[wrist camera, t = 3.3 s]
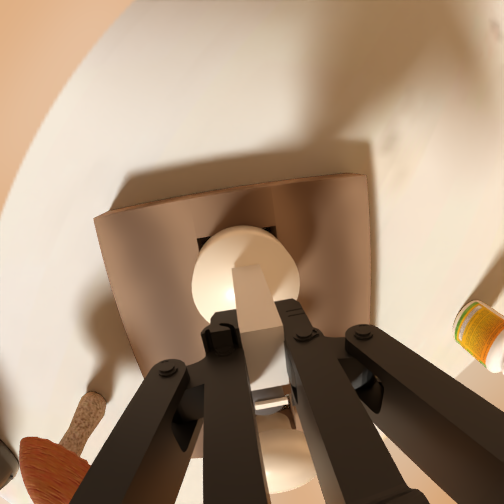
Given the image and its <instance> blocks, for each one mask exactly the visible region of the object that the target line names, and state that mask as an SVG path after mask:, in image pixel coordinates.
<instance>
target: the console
mask: <svg viewBox="0 0 504 504" xmlns="http://www.w3.org/2000/svg"><path fill="white" fill-rule="evenodd" d="M93 219H94V224H95V228H96V232H97V236H98V241H99V245H100V249H101V253H102V256H103V260H104V264H105V268H106V271H107V275H108V278H109V282H110V285H111V288H112V292H113V295H114V298H115V301H116V304H117V307H118V310H119V313H120V316H121V319H122V322H123V325H124V328H125V331H126V334H127V336H128V339H129V342H130V345H131V347H132V350H133V353H134V355H135V358H136V360H137V363H138V365H139V368H140V370H141V373H142V375H143V377H144V379H145V377H146V376H147V374H148V373H149V371H150V369H151V368H152V367H153V366H154V365H155V364H157V363H159V362H160V361H163V360H166V359H178V360H181V361H183V362H184V363H185V365H186V366H188V365H191V364H194V363H196V362H199V361H200V360H202V359H203V358H205V356H206V353H205V349H204V345H203V342H202V338H201V332H202V330H203V329H204V328H205V327H206V326H208V325H210V323H209V322H208V321H206V320H205V319H204V317H203V316H202V315H201V314H200V312H199V311H198V309H197V307H196V305H195V303H194V299H193V295H192V278H193V273H194V268H195V263H196V260H197V256H198V254H199V252H200V250H201V248H202V247H203V245H202V240H201V238H202V237H208V236H213V235H215V234H216V233H218V232H220V231H222V230H224V229H226V228H229V227H233V226H241V225H246V226H254V227H258V228H264V227H270V233H271V234H272V235H273V236H275V237H276V238H277V239H278V240H279V241H280V242H281V244H282V245H283V246H284V247H285V249H286V250H287V251H288V253H289V254H290V255H291V257H292V258H293V260H294V262H295V264H296V266H297V269H298V272H299V278H300V288H299V294H298V298H297V300H296V301H298V302H300V304H301V306H302V308H303V310H304V311H305V314H306V315H307V317H308V319H309V321H310V322H311V324H312V326H313V327H315V328H317V329H319V330H320V331H321V332H322V333H323V335H324V336H326V337H345V332H346V331H347V329H348V328H350V327H352V326H355V325H358V324H369V325H370V297H371V247H370V219H369V201H368V187H367V175H361V174H353V173H343V174H333V175H324V176H315V177H306V178H297V179H289V180H282V181H274V182H267V183H259V184H252V185H246V186H239V187H233V188H226V189H220V190H214V191H208V192H202V193H196V194H191V195H185V196H180V197H174V198H169V199H164V200H159V201H153V202H148V203H144V204H139V205H134V206H129V207H125V208H120V209H115V210H111V211H108V212H105V213H103V214H101V215H99V216H97V217H95V218H93ZM282 388H283V392H284V395H286V394H289V401H290V408H287V409H282V410H279V411H278V412H279V413H282V414H284V415H286V416H287V417H288V419H289V421H290V425H291V428H292V429H294V430H298V431H301V432H303V429H302V426H301V422H300V419H299V416H298V413H297V409H296V406H292V395H291V384H290V380H289V384H286V385H282ZM255 415H256V414H255ZM256 416H257V415H256ZM203 424H204V422H203ZM303 433H304V432H303ZM191 458H203V425H202V428H201V431H200V433H199V436H198V439H197V442H196V445H195V448H194V451H193V453H192V456H191Z"/></svg>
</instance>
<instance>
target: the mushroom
mask: <svg viewBox="0 0 504 504" xmlns="http://www.w3.org/2000/svg"><path fill="white" fill-rule="evenodd" d="M105 409H106V403H105V400H104V398H103V397H102V395H99V393H96V392H88V393H86V394H85V395H84V396H83V397H82V398H81V400H80V402H79V404H78V407H77V409H76V412H75V414H74V417H73V419H72V422H71V424H70V427H69V429H68V430H67V432H66V433H65V435H64V436H63V438H62V439H61V441H60V443H59V444H56V443H53V442H51V441H50V440H48V439H42V438H38V437H25V438H23V439H22V440H21V441H20V451H19V462H20V470H21V474H22V478H23V481H24V484H25V487H26V489H27V491H28V494H29V495H30V497H31V499H32V501H33V502H34V504H69V502H70V501H71V499H72V497H73V495H74V494H75V492H76V490H77V489H78V487H79V485H80V484H81V482H82V480H83V478H84V477H85V475H86V473H87V472H88V470H89V468H90V467H91V465H89V464H88V462H87V460H85V459H82V458H80V455H81V453H82V451H83V448H84V446H85V444H86V442H87V439H88V438H89V437H90V435H91V434H92V432H93V431H94V429H95V428H96V426H97V425H98V424H99V422H100V421H101V419H102V418H103V416H104V414H105Z"/></svg>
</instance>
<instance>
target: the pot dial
mask: <svg viewBox="0 0 504 504" xmlns="http://www.w3.org/2000/svg"><path fill="white" fill-rule="evenodd" d="M251 392H252V397H253V403H254V409H255V414H256V415H270V414H274V413H276V412H278V411H279V410H280V409H281V408H282V407H283V406H284V405H286V404H288V399H287V397H285V395H284V392H283V388H282V385H281V386H276V387H270V388H265V389H259V390H253V391H251Z"/></svg>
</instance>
